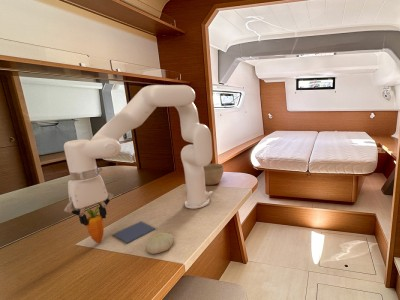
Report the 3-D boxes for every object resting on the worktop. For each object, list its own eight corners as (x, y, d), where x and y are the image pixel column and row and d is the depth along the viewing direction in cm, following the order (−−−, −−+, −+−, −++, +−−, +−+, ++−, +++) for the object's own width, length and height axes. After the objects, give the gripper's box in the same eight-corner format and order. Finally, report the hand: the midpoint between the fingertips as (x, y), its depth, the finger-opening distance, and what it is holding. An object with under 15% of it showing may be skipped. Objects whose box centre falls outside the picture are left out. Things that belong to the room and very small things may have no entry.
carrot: (105, 237, 86) (98, 203, 83) (109, 242, 83) (101, 207, 80) (89, 244, 83) (81, 208, 80) (92, 249, 80) (84, 212, 76)
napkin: (140, 222, 98) (140, 221, 97) (155, 229, 92) (155, 228, 92) (113, 234, 88) (113, 234, 88) (127, 243, 83) (127, 242, 83)
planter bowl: (208, 177, 155) (207, 162, 152) (228, 179, 150) (227, 164, 147) (194, 185, 140) (192, 169, 137) (216, 188, 135) (215, 171, 132)
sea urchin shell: (158, 232, 86) (167, 222, 83) (171, 248, 85) (180, 238, 82) (137, 246, 78) (146, 236, 74) (151, 264, 77) (161, 254, 74)
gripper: (107, 166, 86) (115, 208, 90) (48, 180, 72) (60, 229, 76) (116, 169, 82) (124, 213, 86) (56, 184, 68) (68, 235, 72)
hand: (94, 220), depth 81 cm, fingers closed on carrot, 5 cm apart
